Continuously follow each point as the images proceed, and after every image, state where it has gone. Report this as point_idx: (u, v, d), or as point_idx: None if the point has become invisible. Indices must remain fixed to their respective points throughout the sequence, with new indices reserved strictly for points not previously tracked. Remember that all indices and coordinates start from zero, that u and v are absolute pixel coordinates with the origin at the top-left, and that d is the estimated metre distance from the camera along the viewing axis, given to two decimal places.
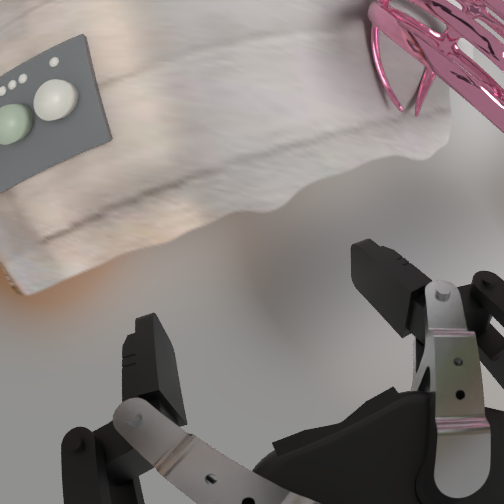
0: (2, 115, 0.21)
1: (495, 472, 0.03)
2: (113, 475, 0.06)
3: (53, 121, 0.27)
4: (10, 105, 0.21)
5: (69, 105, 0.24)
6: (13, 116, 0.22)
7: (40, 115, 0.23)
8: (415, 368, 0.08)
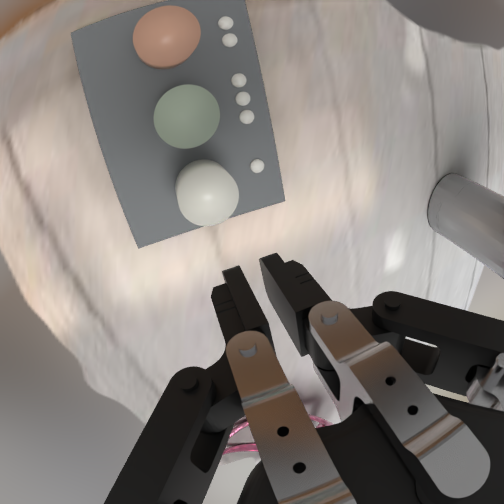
0: (204, 108, 0.18)
1: (495, 471, 0.03)
2: (208, 424, 0.07)
3: (171, 167, 0.24)
4: (216, 124, 0.19)
5: (196, 224, 0.22)
6: (197, 130, 0.19)
7: (188, 180, 0.21)
8: (334, 396, 0.08)
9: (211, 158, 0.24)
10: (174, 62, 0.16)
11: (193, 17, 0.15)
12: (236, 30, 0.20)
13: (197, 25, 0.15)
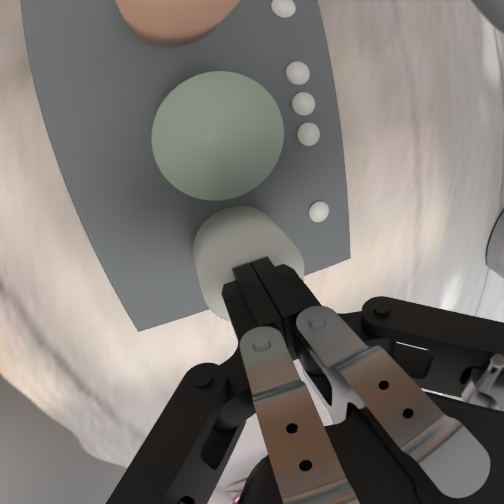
0: (255, 121, 0.10)
1: (495, 471, 0.03)
2: (220, 421, 0.07)
3: (184, 217, 0.15)
4: (276, 153, 0.10)
5: None
6: (240, 165, 0.10)
7: (220, 255, 0.12)
8: (325, 401, 0.08)
9: (250, 201, 0.15)
10: (196, 25, 0.07)
11: None
12: None
13: None
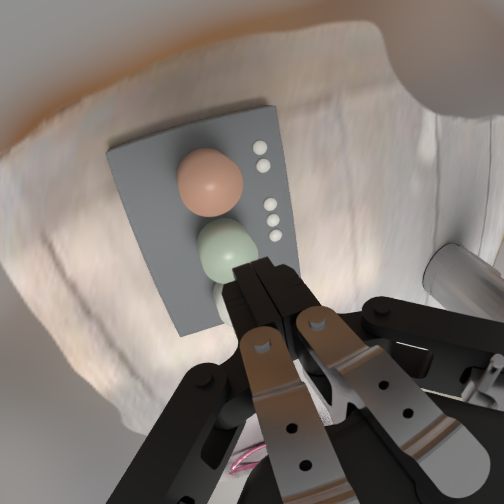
0: (245, 252, 0.24)
1: (495, 472, 0.03)
2: (220, 421, 0.07)
3: (209, 279, 0.29)
4: None
5: (232, 326, 0.28)
6: None
7: None
8: (325, 401, 0.08)
9: None
10: (220, 214, 0.22)
11: (236, 168, 0.20)
12: (269, 154, 0.25)
13: (240, 176, 0.21)
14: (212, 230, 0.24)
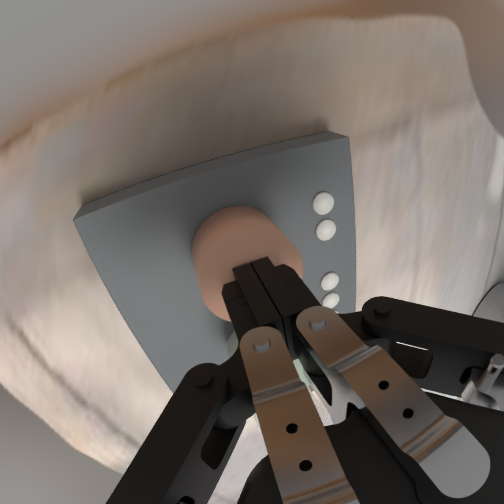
0: None
1: (495, 472, 0.03)
2: (220, 421, 0.07)
3: None
4: None
5: None
6: None
7: None
8: (325, 401, 0.08)
9: None
10: None
11: (294, 251, 0.13)
12: (335, 212, 0.16)
13: (299, 263, 0.13)
14: None
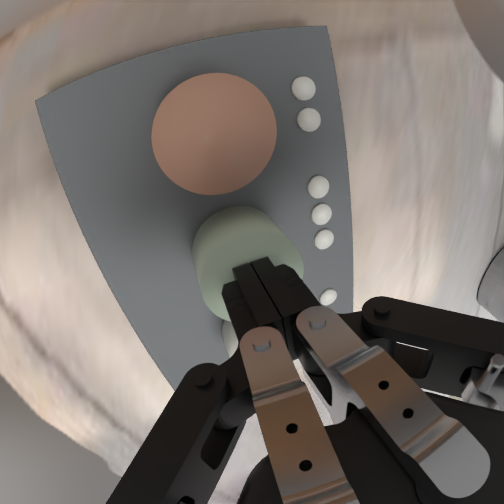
0: None
1: (495, 471, 0.03)
2: (220, 421, 0.07)
3: None
4: None
5: None
6: None
7: None
8: (326, 401, 0.08)
9: None
10: (232, 189, 0.11)
11: (264, 101, 0.10)
12: (318, 102, 0.14)
13: (271, 117, 0.10)
14: (219, 227, 0.13)
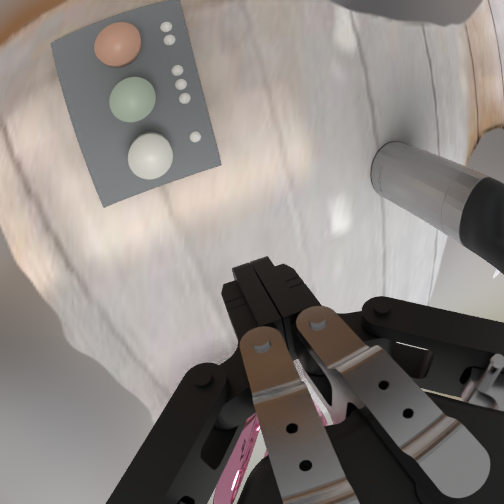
0: (144, 92, 0.24)
1: (494, 471, 0.03)
2: (220, 421, 0.07)
3: (126, 141, 0.29)
4: (153, 103, 0.25)
5: None
6: (139, 108, 0.25)
7: (134, 144, 0.26)
8: (326, 401, 0.08)
9: (157, 132, 0.29)
10: (123, 62, 0.22)
11: (135, 29, 0.21)
12: (174, 31, 0.24)
13: (138, 34, 0.21)
14: None
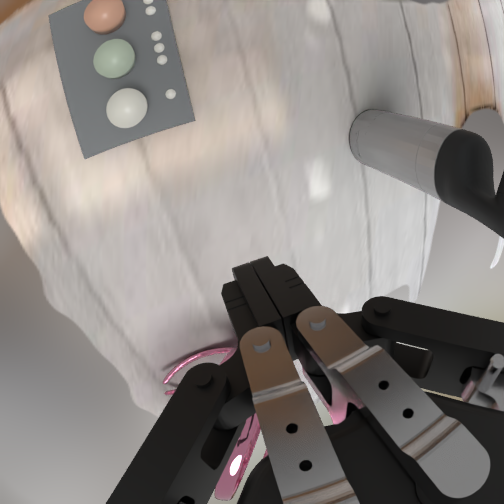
0: (124, 51, 0.24)
1: (495, 472, 0.03)
2: (220, 421, 0.07)
3: (108, 98, 0.29)
4: (131, 60, 0.25)
5: None
6: (119, 65, 0.25)
7: (113, 96, 0.26)
8: (325, 401, 0.08)
9: None
10: (107, 26, 0.22)
11: None
12: (155, 3, 0.25)
13: (121, 4, 0.21)
14: None
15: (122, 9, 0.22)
